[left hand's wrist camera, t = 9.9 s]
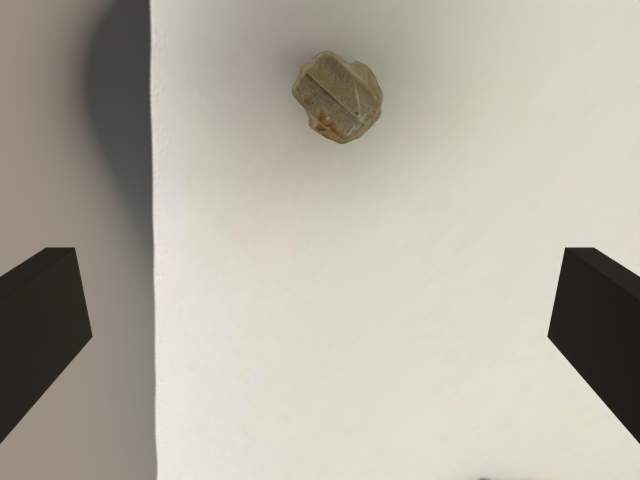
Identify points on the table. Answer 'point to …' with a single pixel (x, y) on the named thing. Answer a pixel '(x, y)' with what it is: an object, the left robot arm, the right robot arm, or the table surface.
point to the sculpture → (338, 97)
